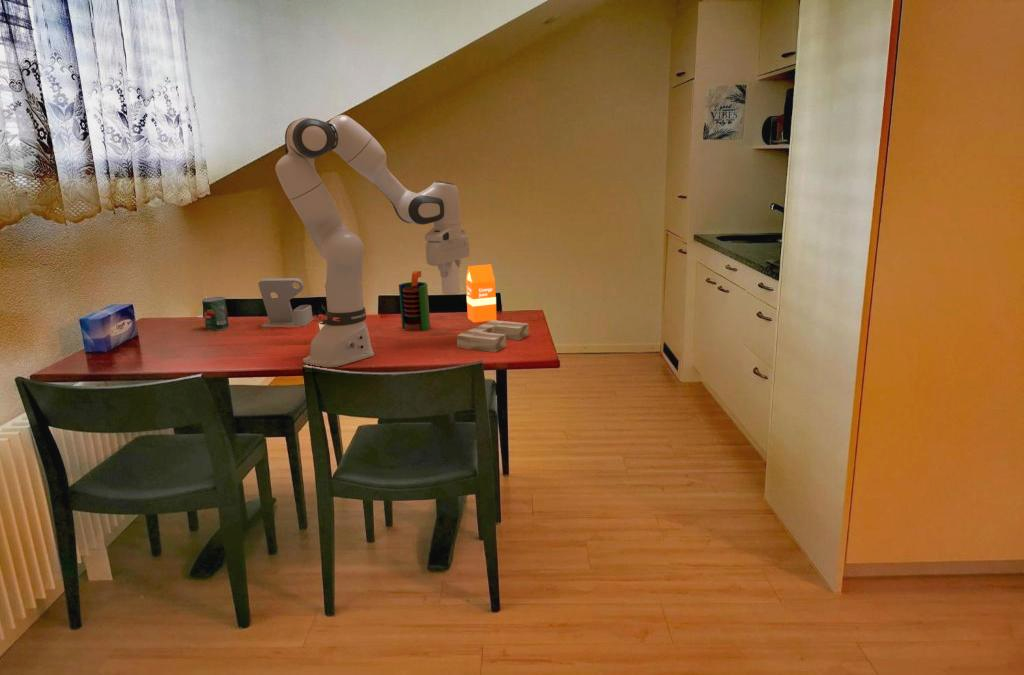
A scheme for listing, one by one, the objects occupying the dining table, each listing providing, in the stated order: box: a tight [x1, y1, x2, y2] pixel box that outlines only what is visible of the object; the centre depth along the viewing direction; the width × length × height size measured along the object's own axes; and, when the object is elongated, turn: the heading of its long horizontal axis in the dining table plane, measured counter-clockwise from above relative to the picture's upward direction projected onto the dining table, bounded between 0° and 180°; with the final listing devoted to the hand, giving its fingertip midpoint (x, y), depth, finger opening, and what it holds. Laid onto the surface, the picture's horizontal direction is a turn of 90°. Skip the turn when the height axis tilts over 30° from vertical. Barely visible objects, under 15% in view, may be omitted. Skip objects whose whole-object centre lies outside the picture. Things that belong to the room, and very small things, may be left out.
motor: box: [398, 270, 431, 332], centre depth 257 cm, size 10×9×20 cm
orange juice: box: [465, 263, 498, 323], centre depth 267 cm, size 8×9×20 cm
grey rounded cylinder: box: [440, 261, 461, 295], centre depth 239 cm, size 6×12×6 cm
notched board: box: [456, 320, 530, 353], centre depth 238 cm, size 22×14×4 cm, turn 150°
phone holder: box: [258, 277, 314, 328], centre depth 269 cm, size 17×10×18 cm, turn 84°
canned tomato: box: [201, 296, 230, 332], centre depth 267 cm, size 8×8×11 cm
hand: (450, 275), depth 239 cm, fingers closed on grey rounded cylinder, 5 cm apart
